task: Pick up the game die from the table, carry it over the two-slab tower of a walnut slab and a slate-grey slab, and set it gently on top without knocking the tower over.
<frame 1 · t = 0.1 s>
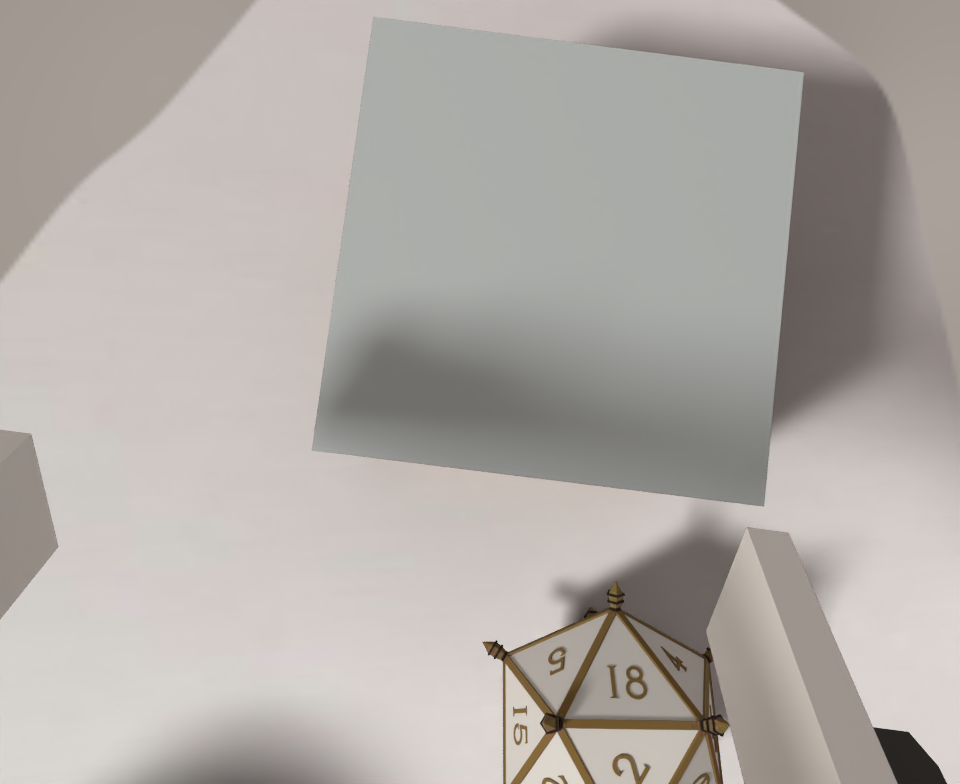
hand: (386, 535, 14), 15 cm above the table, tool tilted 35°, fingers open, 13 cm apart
game die: (589, 685, 29), on the table
tower top: (544, 294, 25), point 5 cm above the table, touching tower base
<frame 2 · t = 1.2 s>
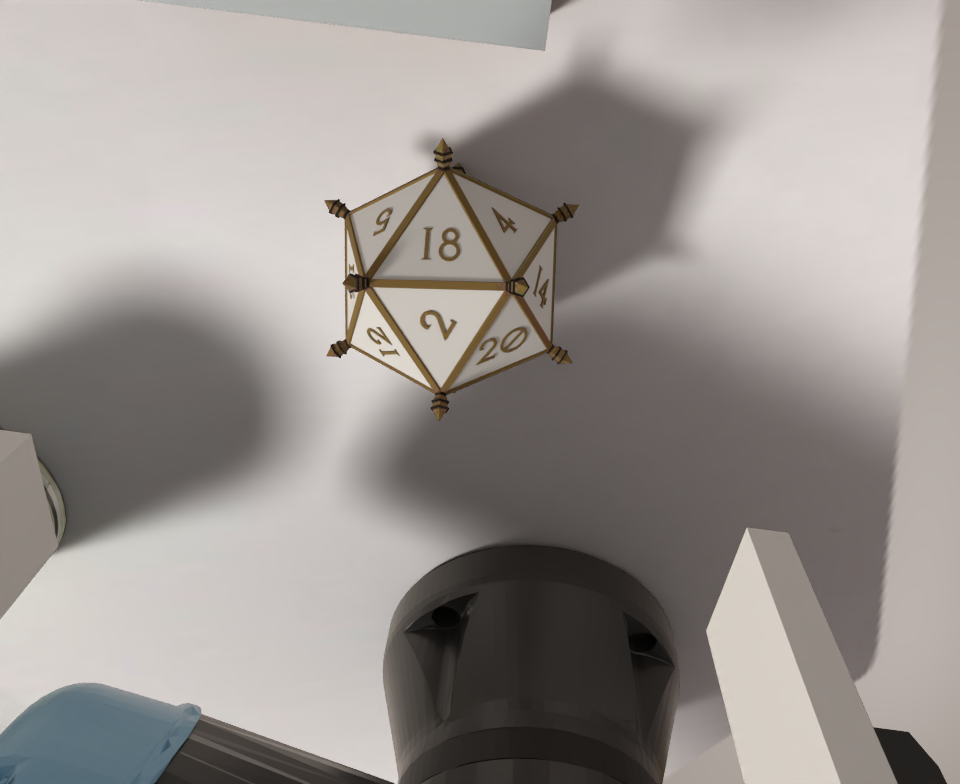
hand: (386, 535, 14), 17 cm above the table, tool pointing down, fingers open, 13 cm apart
game die: (459, 241, 29), on the table
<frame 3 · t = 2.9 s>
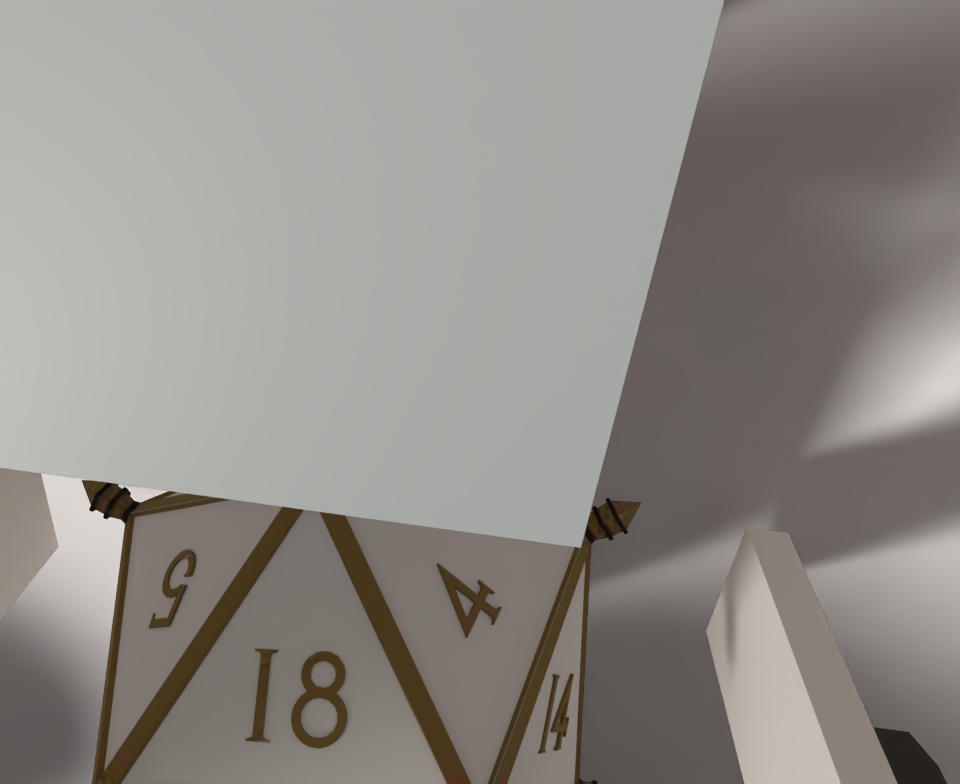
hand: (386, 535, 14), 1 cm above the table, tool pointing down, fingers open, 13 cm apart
game die: (398, 487, 15), on the table
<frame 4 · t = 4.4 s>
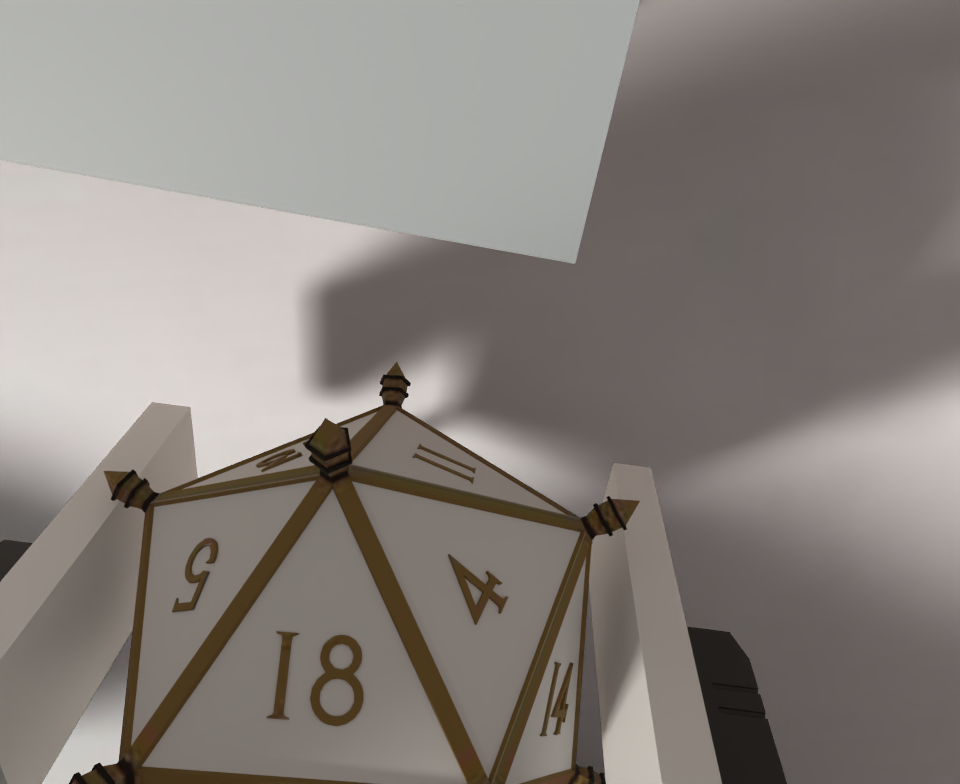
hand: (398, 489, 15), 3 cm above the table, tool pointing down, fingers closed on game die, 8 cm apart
game die: (403, 483, 16), point 2 cm above the table, touching gripper
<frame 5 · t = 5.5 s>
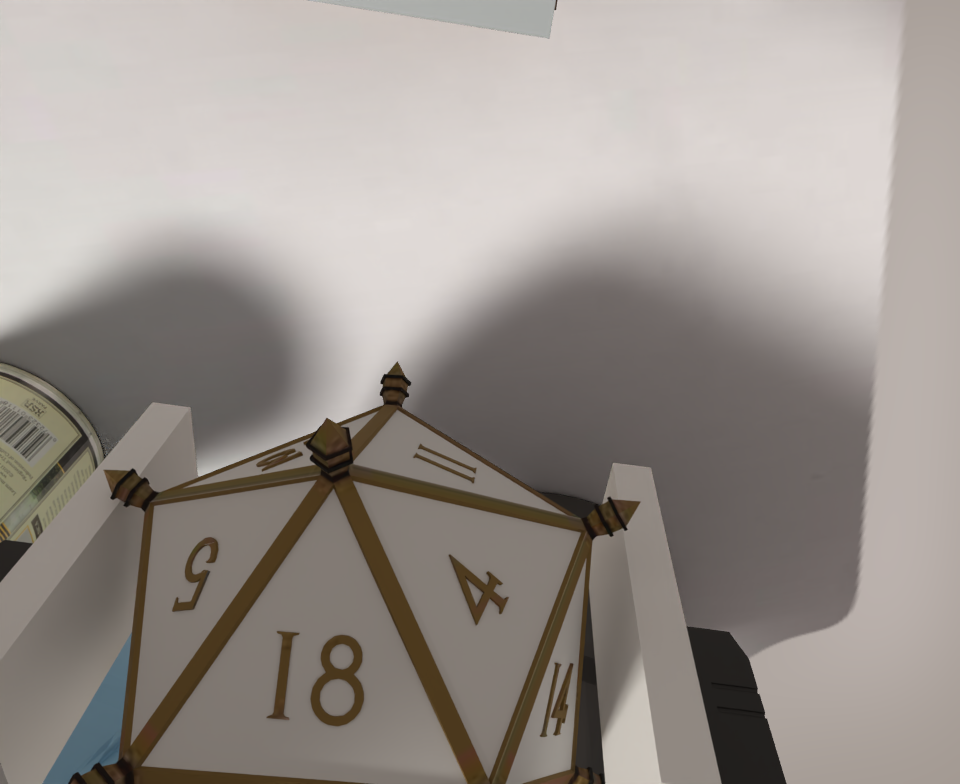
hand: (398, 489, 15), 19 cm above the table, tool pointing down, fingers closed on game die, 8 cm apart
game die: (403, 483, 16), point 18 cm above the table, touching gripper
coffee can: (13, 440, 40), on the table
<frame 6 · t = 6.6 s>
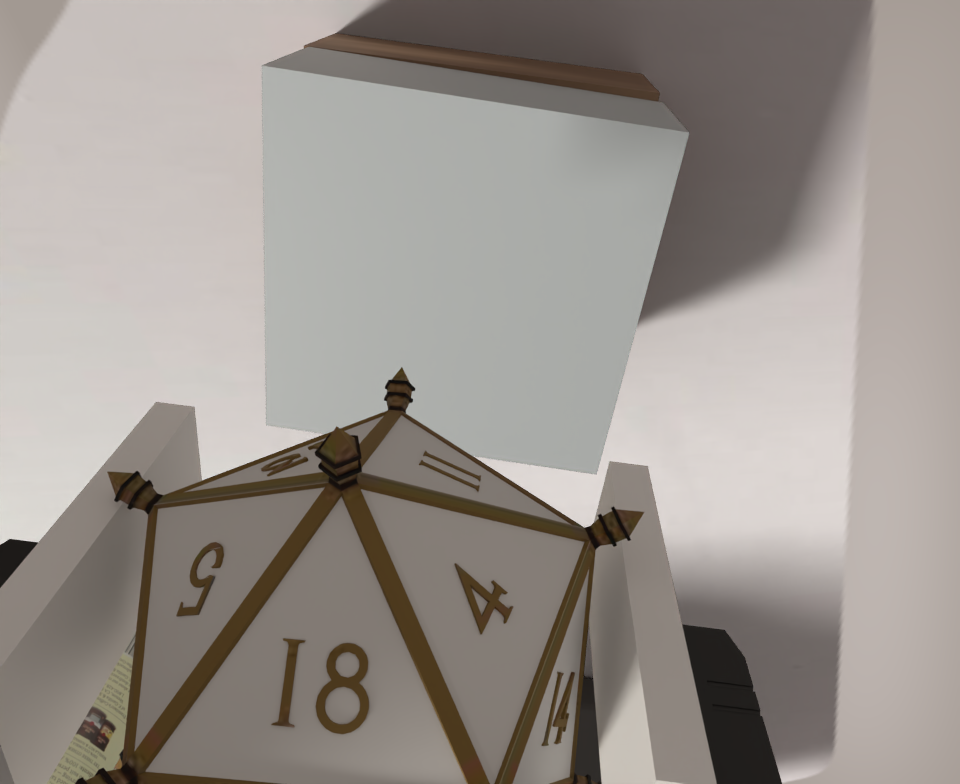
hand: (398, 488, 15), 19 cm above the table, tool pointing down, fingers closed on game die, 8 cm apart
tower base: (472, 203, 32), on the table, touching tower top
game die: (404, 487, 16), point 19 cm above the table, touching gripper
coffee can: (123, 630, 47), on the table
tower top: (464, 244, 28), point 5 cm above the table, touching tower base
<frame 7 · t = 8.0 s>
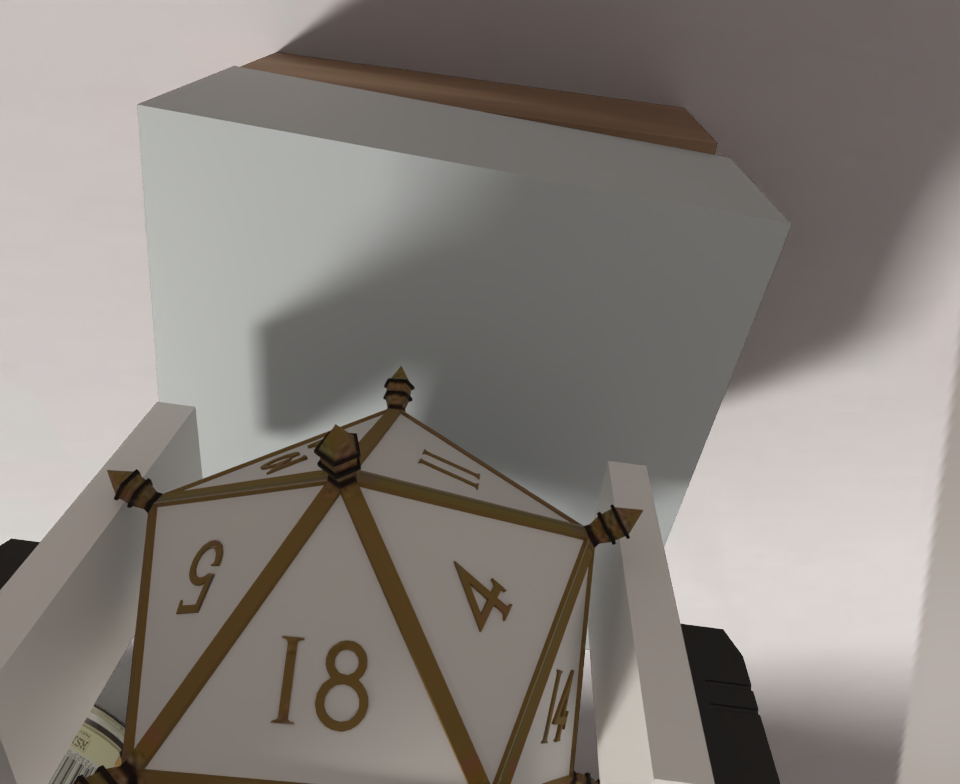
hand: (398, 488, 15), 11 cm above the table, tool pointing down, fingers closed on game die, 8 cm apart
tower base: (460, 267, 25), on the table, touching tower top
game die: (404, 486, 16), point 11 cm above the table, touching gripper
coffee can: (54, 742, 40), on the table
tower top: (449, 334, 21), point 5 cm above the table, touching tower base
when the fingers open (11 cm above the table, at t = 8.2 s): game die drops 2 cm, resting on tower top.
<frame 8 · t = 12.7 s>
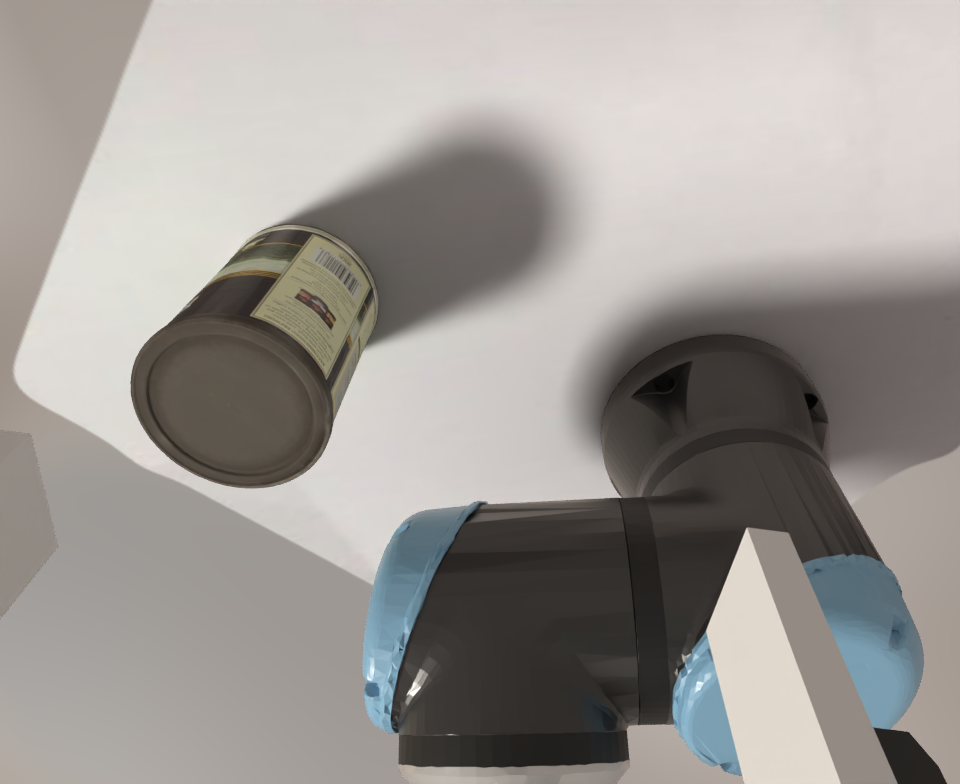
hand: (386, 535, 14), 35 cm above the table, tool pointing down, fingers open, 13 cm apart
coffee can: (305, 297, 50), on the table
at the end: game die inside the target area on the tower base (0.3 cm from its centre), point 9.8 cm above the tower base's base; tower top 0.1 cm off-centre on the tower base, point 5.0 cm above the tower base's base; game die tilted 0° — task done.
